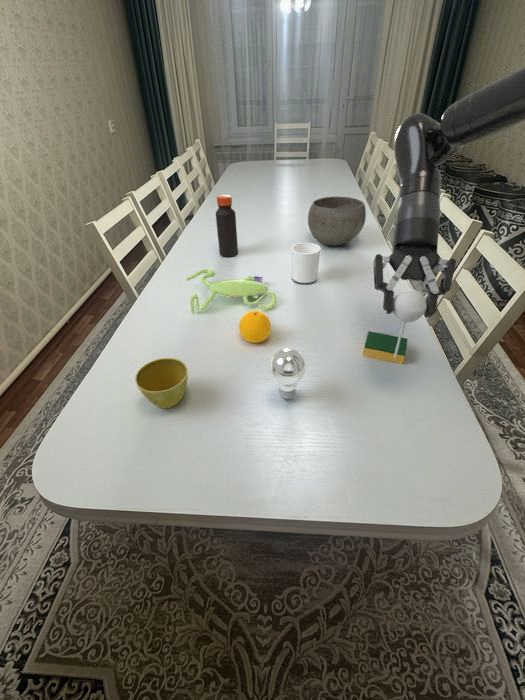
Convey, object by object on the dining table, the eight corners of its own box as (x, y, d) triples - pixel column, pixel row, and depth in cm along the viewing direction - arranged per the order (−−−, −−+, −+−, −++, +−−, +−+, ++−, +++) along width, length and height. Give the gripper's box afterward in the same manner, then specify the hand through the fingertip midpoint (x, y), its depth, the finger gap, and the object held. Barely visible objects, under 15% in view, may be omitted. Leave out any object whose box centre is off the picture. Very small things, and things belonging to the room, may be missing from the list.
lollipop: (373, 356, 72) (387, 290, 63) (390, 344, 75) (406, 279, 66) (399, 371, 69) (419, 304, 59) (416, 358, 72) (437, 292, 62)
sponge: (404, 349, 86) (407, 338, 84) (402, 364, 82) (405, 353, 80) (366, 341, 89) (368, 330, 87) (362, 355, 84) (364, 345, 82)
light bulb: (267, 388, 77) (266, 343, 69) (298, 383, 77) (301, 339, 70) (273, 412, 71) (273, 367, 64) (307, 407, 72) (311, 361, 65)
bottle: (235, 258, 129) (231, 200, 116) (217, 257, 130) (211, 199, 117) (240, 250, 134) (236, 194, 122) (222, 249, 135) (217, 193, 123)
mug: (309, 288, 110) (311, 256, 104) (285, 280, 115) (285, 249, 108) (326, 274, 117) (329, 244, 111) (303, 267, 121) (305, 238, 115)
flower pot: (171, 376, 80) (165, 351, 76) (202, 396, 75) (198, 370, 71) (133, 402, 74) (124, 376, 70) (164, 426, 69) (156, 400, 65)
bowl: (317, 229, 149) (320, 191, 140) (367, 236, 142) (373, 197, 133) (298, 247, 135) (300, 206, 126) (353, 256, 128) (359, 214, 118)
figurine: (190, 283, 115) (188, 267, 111) (274, 281, 114) (274, 264, 111) (181, 315, 100) (178, 297, 97) (276, 312, 100) (276, 294, 96)
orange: (235, 333, 93) (233, 308, 88) (264, 326, 95) (263, 301, 90) (245, 350, 87) (244, 325, 82) (275, 343, 89) (276, 317, 84)
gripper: (378, 213, 63) (370, 306, 61) (467, 216, 60) (460, 314, 59) (372, 232, 70) (364, 315, 69) (451, 235, 68) (444, 322, 66)
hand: (408, 314), depth 64 cm, fingers closed on lollipop, 6 cm apart
